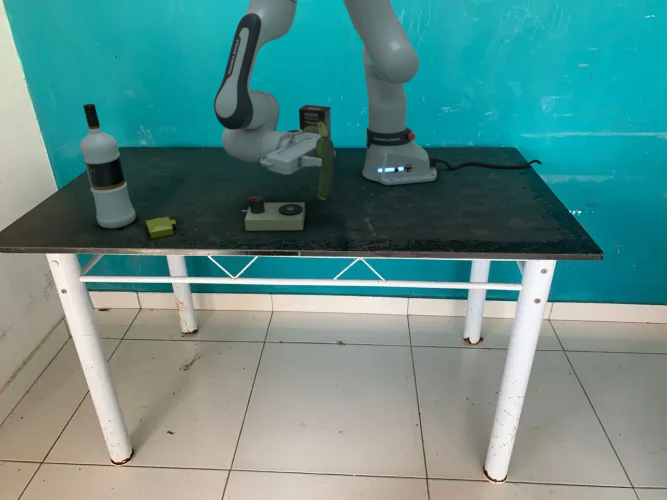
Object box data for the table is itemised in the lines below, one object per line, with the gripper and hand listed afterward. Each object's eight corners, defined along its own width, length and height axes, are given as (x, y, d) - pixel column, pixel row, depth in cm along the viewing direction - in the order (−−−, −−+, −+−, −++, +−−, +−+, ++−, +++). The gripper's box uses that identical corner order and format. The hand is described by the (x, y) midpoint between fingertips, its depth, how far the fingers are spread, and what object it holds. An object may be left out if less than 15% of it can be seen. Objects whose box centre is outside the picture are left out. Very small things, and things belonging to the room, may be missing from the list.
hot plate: (305, 212, 137) (304, 201, 135) (302, 230, 128) (302, 218, 126) (246, 213, 137) (245, 202, 135) (240, 230, 128) (238, 219, 127)
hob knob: (265, 207, 133) (264, 194, 131) (263, 213, 129) (262, 200, 128) (251, 207, 133) (250, 194, 131) (249, 214, 129) (247, 200, 128)
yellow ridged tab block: (140, 225, 132) (138, 215, 130) (177, 218, 135) (175, 208, 134) (145, 242, 124) (143, 231, 122) (184, 234, 127) (182, 224, 126)
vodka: (131, 228, 130) (103, 108, 116) (93, 231, 130) (60, 110, 115) (140, 213, 138) (114, 98, 124) (104, 215, 138) (74, 100, 123)
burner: (303, 205, 133) (303, 203, 133) (301, 215, 128) (301, 213, 128) (279, 205, 134) (279, 203, 133) (277, 215, 128) (277, 213, 128)
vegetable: (330, 195, 132) (328, 117, 122) (337, 202, 128) (337, 121, 119) (314, 199, 130) (311, 119, 120) (321, 205, 127) (319, 124, 117)
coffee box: (299, 157, 175) (297, 109, 167) (306, 151, 180) (304, 104, 172) (325, 159, 172) (324, 110, 164) (332, 153, 177) (331, 106, 169)
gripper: (253, 149, 120) (305, 159, 114) (300, 127, 136) (348, 134, 130) (256, 175, 123) (306, 185, 117) (301, 150, 139) (348, 158, 133)
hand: (328, 158), depth 124 cm, fingers closed on vegetable, 4 cm apart
